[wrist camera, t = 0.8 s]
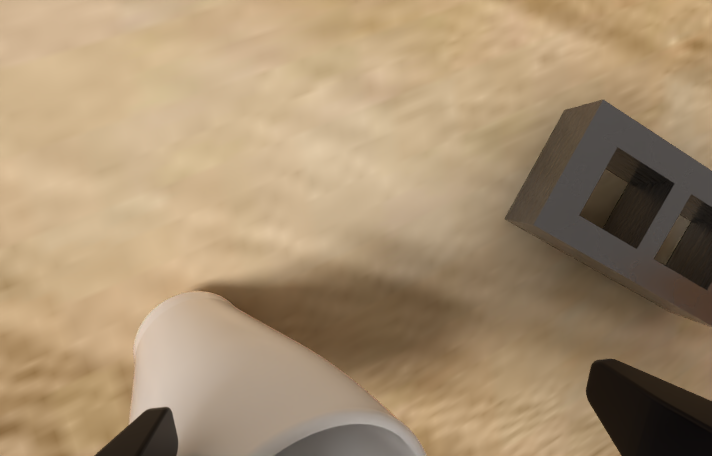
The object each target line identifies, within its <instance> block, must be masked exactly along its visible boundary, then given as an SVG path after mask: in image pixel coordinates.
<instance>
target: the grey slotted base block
mask: <svg viewBox="0 0 712 456" xmlns="http://www.w3.org/2000/svg"><path fill="white" fill-rule="evenodd" d="M605 168H606V169H607V170H609V171H611V172H612V173H614V174H615V175H617V176H619V177H620V178H622V179H624V180H625V181H627V182H628V183H629V184H628V186H627V187H626V189H625V191H624V193H623V194H622V196H621V198H620V200H619V202H618V203H617V205H616V207H615V209H614V210H613V212H612V214H611V216H610V217H609V219H608V221H607V223H606V224H605V226H604V228H603V229H601V228H600V227H598V226H596V225H595V224H593V223H591V222H590V221H588V220H586V219H584V218H583V217H581V216H579V214H580V213H581V211H582V209H583V207H584V206H585V204H586V202H587V200H588V199H589V197H590V195H591V193H592V191H593V190H594V188H595V186H596V184H597V183H598V181H599V179H600V177H601V175H602V174H603V172H604V170H605ZM679 214H680V215H682V216H683V217H685V218H686V219H688V220H690V221H691V224H690V225H689V227H688V229H687V230H686V232H685V234H684V236H683V237H682V239H681V241H680V242H679V244H678V246H677V248H676V249H675V251H674V253H673V254H672V256H671V258H670V259H669V261H668V263H667V265H666V266H665V265H663V264H661V263H660V262H658V261H656V260H654V257H655V256H656V254H657V252H658V250H659V249H660V247H661V245H662V244H663V242H664V240H665V238H666V237H667V235H668V233H669V232H670V230H671V228H672V226H673V225H674V223H675V221H676V220H677V218H678V216H679ZM505 220H507V221H509V222H511V223H512V224H514V225H516V226H518V227H520V228H521V229H523V230H525V231H527V232H529V233H530V234H532V235H534V236H536V237H537V238H539V239H541V240H543V241H545V242H546V243H548V244H550V245H552V246H553V247H555V248H557V249H559V250H561V251H562V252H564V253H566V254H568V255H570V256H571V257H573V258H575V259H577V260H578V261H580V262H582V263H584V264H586V265H587V266H589V267H591V268H593V269H594V270H596V271H598V272H600V273H602V274H603V275H605V276H607V277H609V278H610V279H612V280H614V281H616V282H618V283H619V284H621V285H623V286H625V287H627V288H628V289H630V290H632V291H634V292H635V293H637V294H639V295H641V296H643V297H644V298H646V299H648V300H650V301H651V302H653V303H655V304H657V305H659V306H660V307H662V308H664V309H666V310H667V311H669V312H672V313H674V314H677V315H680V316H683V317H685V318H688V319H691V320H693V321H696V322H699V323H702V324H704V325H707V326H710V327H712V171H711V170H710V169H708V168H707V167H705V166H704V165H702V164H701V163H699V162H697V161H696V160H694V159H693V158H691V157H690V156H688V155H687V154H685V153H684V152H682V151H681V150H679V149H678V148H676V147H675V146H673V145H672V144H670V143H669V142H667V141H666V140H664V139H662V138H661V137H659V136H658V135H656V134H655V133H653V132H652V131H650V130H649V129H647V128H646V127H644V126H643V125H641V124H640V123H638V122H637V121H635V120H634V119H632V118H630V117H629V116H627V115H626V114H624V113H623V112H621V111H620V110H618V109H617V108H615V107H614V106H612V105H611V104H609V103H608V102H606V101H605V100H600V101H596V102H593V103H589V104H585V105H582V106H578V107H574V108H571V109H567V110H565V111H564V112H563V114H562V116H561V118H560V120H559V121H558V123H557V125H556V127H555V129H554V130H553V132H552V134H551V136H550V138H549V139H548V141H547V143H546V145H545V147H544V149H543V150H542V152H541V154H540V156H539V158H538V159H537V161H536V163H535V165H534V167H533V168H532V170H531V172H530V174H529V176H528V177H527V179H526V181H525V183H524V185H523V187H522V188H521V190H520V192H519V194H518V196H517V197H516V199H515V201H514V203H513V205H512V206H511V208H510V210H509V212H508V214H507V215H506V217H505Z"/></svg>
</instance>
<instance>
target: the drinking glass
mask: <svg viewBox="0 0 712 456" xmlns="http://www.w3.org/2000/svg"><path fill="white" fill-rule="evenodd" d="M133 357H134V365H135V366H134V377H133V387H132V397H131V406H130V415H129V423H128V425H129V424H131V423H132V422H133V421H134V420H135V419H136V418H137V417H138V416H140V415H141V414H142V413H143V412H144V411H146V410H147V409H150V408H158V407H169V408H170V409H171V411H172V413H173V418H174V422H175V427H176V431H177V436H178V451H177V456H427V455H426V452H425V450H424V448H423V446H422V444H421V443H420V441H419V440H418V438H417V437H416V436H415V434H414V433H413V432H412V431H411V430H410V429H409V428H408V427H407V426H406V425H405V424H404V423H402V422H401V421H400V420H399V419H398V418H397V417H396V416H395V415H393V414H392V413H391V412H390V411H389V410H388V409H387V408H386V407H385V406H384V405H383V404H381V403H380V402H379V401H378V400H377V399H376V398H375V397H374V396H372V395H371V394H370V393H369V392H368V391H367V390H365V389H364V388H363V387H362V386H361V385H359V384H358V383H357V382H356V381H354V380H353V379H352V378H351V377H349V376H348V375H347V374H346V373H344V372H343V371H342V370H340V369H339V368H338V367H336V366H335V365H334V364H332V363H331V362H329V361H328V360H326V359H325V358H323V357H322V356H320V355H319V354H317V353H315V352H314V351H312V350H311V349H309V348H307V347H306V346H304V345H302V344H301V343H299V342H297V341H295V340H294V339H292V338H290V337H288V336H286V335H284V334H283V333H281V332H279V331H277V330H275V329H274V328H272V327H270V326H268V325H266V324H265V323H263V322H261V321H259V320H257V319H256V318H254V317H252V316H250V315H249V314H247V313H245V312H243V311H242V310H240V309H238V308H237V307H236V306H234V305H233V304H232V303H231V302H230V301H228V300H227V299H225V298H224V297H222V296H220V295H217V294H215V293H211V292H205V291H191V292H185V293H181V294H178V295H175V296H173V297H170V298H168V299H167V300H165V301H163V302H162V303H160V304H159V305H158V306H156V307H155V308H154V309H153V310H152V311H151V312H150V313H149V314H148V315H147V316H146V318H145V319H144V320H143V322H142V323H141V325H140V327H139V329H138V332H137V334H136V337H135V341H134V348H133Z"/></svg>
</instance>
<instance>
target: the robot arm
mask: <svg viewBox="0 0 712 456" xmlns="http://www.w3.org/2000/svg"><path fill="white" fill-rule="evenodd" d="M586 395H587V398H588V401H589V403H590V404H591V406H592V408H593V409H594V411H595V413H596V414H597V416H598V418H599V419H600V421H601V423H602V424H603V426H604V428H605V429H606V431H607V432H608V434H609V436H610V437H611V439H612V441H613V442H614V444H615V446H616V447H617V449H618V451H619V452H620V454H621V456H712V401H710V400H707V399H705V398H703V397H701V396H698V395H696V394H694V393H691V392H689V391H687V390H684V389H682V388H680V387H677V386H675V385H673V384H670V383H668V382H666V381H664V380H661V379H659V378H657V377H654V376H652V375H650V374H647V373H645V372H643V371H640V370H638V369H636V368H633V367H631V366H629V365H627V364H624V363H622V362H620V361H617V360H615V359H603V360H596V361H594V362H593V363H592V365H591V369H590V373H589V378H588V383H587V387H586ZM177 451H178V436H177V431H176V427H175V422H174V418H173V413H172V411H171V409H170V408H169V407H158V408H150V409H147V410H146V411H144V412H143V413H142V414H141V415H140V416H138V417H137V418H136V419H135V420H134V421H133V422H132V423H131V424H129V425H128V426H127V427H126V428H125V429H124V430H123V431H122V432H120V433H119V434H118V435H117V436H116V437H115V438H114V439H113V440H111V441H110V442H109V443H108V444H107V445H106V446H105V447H104V448H102V449H101V450H100V451H99V452H98V453H97V454H96V455H95V456H177Z"/></svg>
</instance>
